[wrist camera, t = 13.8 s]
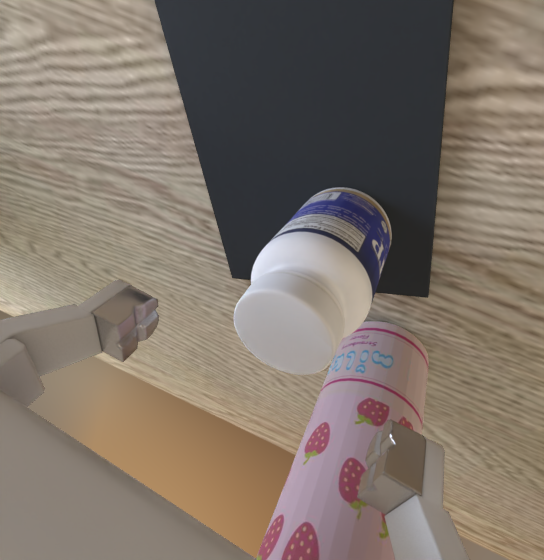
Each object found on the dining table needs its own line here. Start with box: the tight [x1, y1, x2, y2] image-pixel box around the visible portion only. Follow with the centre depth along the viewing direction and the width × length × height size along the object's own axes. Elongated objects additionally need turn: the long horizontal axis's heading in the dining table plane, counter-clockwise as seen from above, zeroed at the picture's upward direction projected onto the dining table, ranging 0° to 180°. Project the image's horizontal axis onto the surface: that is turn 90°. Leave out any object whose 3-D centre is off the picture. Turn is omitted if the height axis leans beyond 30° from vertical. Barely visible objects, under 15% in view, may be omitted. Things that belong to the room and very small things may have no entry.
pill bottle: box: [234, 187, 392, 375], centre depth 15 cm, size 5×5×9 cm
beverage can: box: [256, 321, 429, 560], centre depth 17 cm, size 6×6×15 cm
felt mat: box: [155, 0, 454, 297], centre depth 16 cm, size 13×20×1 cm, turn 11°
